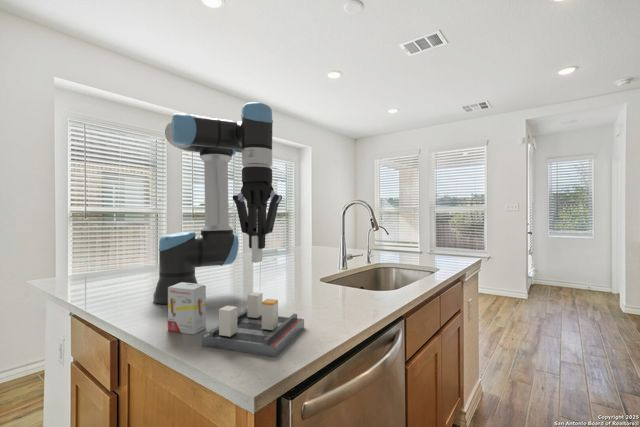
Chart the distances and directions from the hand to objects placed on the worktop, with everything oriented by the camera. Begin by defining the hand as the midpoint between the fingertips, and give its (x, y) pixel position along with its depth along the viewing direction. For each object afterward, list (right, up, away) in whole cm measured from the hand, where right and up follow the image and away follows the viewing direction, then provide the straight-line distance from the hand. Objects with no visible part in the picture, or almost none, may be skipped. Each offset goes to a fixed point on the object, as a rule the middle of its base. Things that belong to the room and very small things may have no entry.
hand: (257, 261), depth 79 cm
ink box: (-19, -19, +4) cm, 28 cm away
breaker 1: (-6, -16, -4) cm, 18 cm away
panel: (0, -19, +1) cm, 19 cm away
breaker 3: (+3, -16, 0) cm, 17 cm away
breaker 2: (-2, -16, +8) cm, 18 cm away
